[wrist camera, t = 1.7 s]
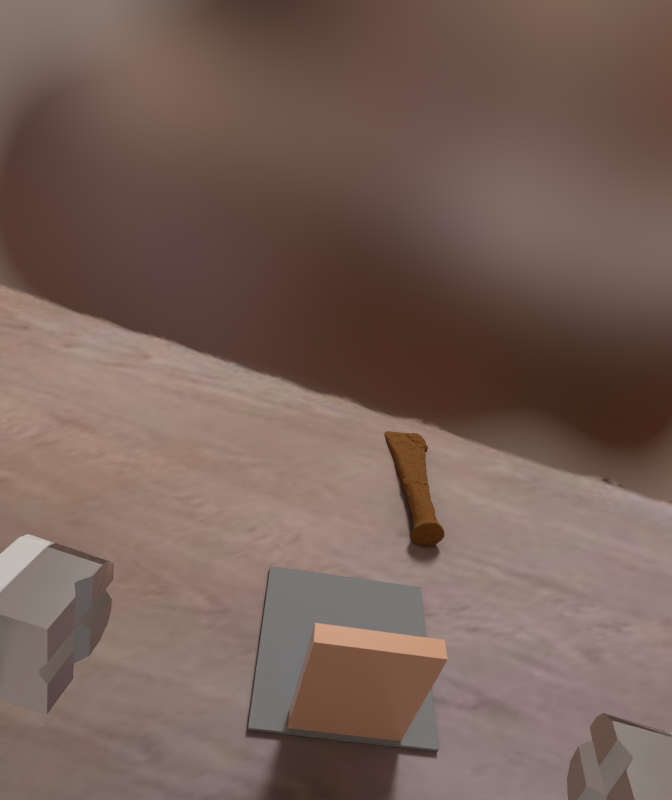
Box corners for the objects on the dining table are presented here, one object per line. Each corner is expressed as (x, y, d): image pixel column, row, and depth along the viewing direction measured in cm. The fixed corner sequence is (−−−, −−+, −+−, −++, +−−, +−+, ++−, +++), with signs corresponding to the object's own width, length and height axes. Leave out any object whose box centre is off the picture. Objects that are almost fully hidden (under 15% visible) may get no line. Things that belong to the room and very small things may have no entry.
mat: (247, 730, 45) (248, 727, 44) (269, 568, 57) (270, 566, 56) (437, 751, 46) (438, 749, 46) (419, 589, 58) (420, 587, 58)
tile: (287, 728, 45) (313, 642, 38) (289, 707, 46) (315, 620, 39) (401, 741, 46) (447, 659, 39) (399, 720, 47) (444, 637, 40)
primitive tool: (383, 433, 78) (389, 413, 76) (422, 437, 79) (429, 417, 77) (407, 549, 63) (416, 528, 61) (455, 553, 64) (466, 531, 62)
